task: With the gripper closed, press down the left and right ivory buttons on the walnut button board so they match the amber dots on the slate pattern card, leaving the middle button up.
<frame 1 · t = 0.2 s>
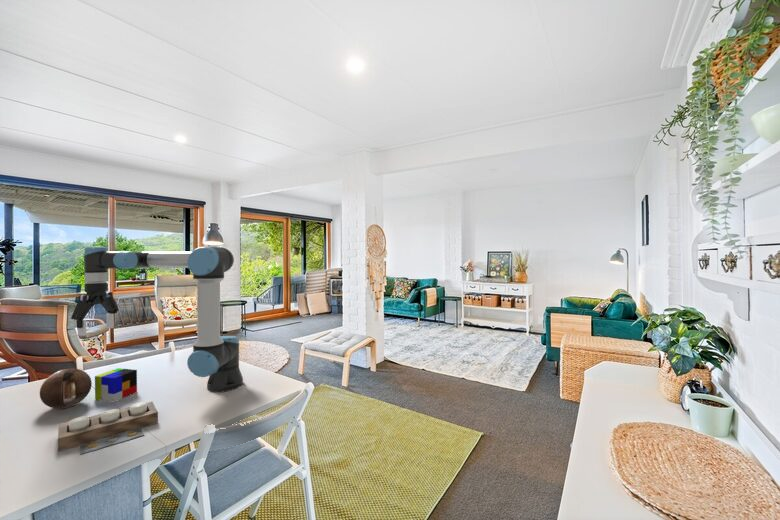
hand: (96, 331, 145), 28 cm above the table, tool pointing down, fingers open, 13 cm apart
wooden sphere: (66, 407, 135), on the table
left button: (79, 425, 113), point 4 cm above the table, slide at 0.0 cm
puzzle toy: (116, 396, 146), on the table
right button: (138, 410, 124), point 4 cm above the table, slide at 0.0 cm
middle button: (110, 417, 118), point 4 cm above the table, slide at 0.0 cm
button board: (110, 429, 118), on the table
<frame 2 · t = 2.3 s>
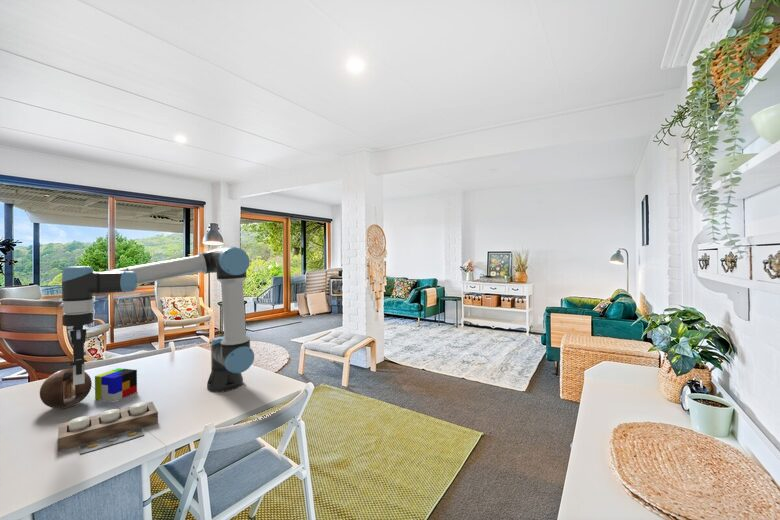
hand: (78, 379, 112), 20 cm above the table, tool pointing down, fingers open, 9 cm apart
nothing on the table moved.
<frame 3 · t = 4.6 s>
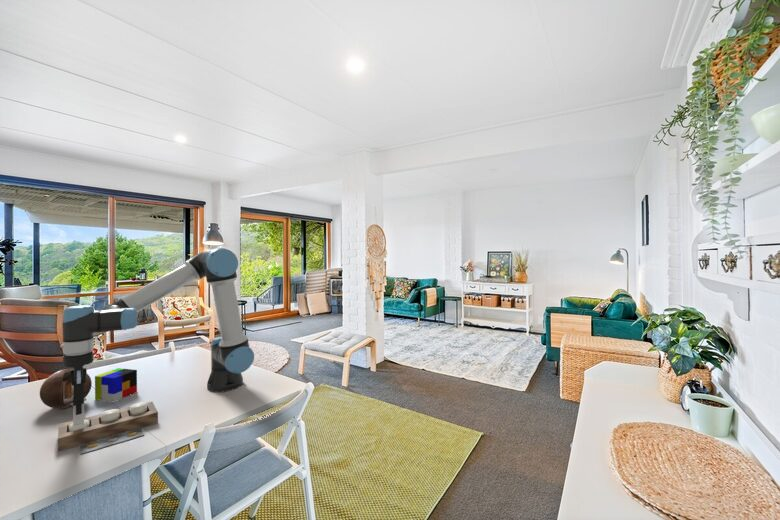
hand: (78, 422, 112), 5 cm above the table, tool pointing down, fingers closed
left button: (79, 428, 113), point 3 cm above the table, slide at 1.2 cm, touching gripper
everything else where it was.
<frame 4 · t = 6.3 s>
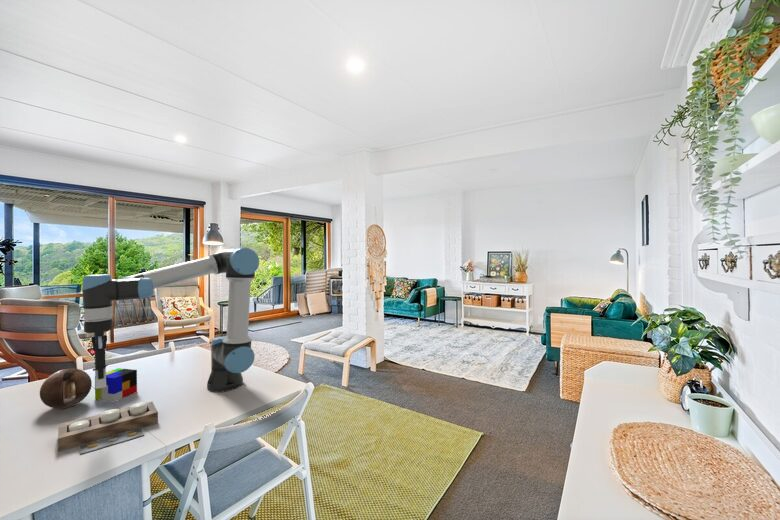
hand: (101, 387, 116), 16 cm above the table, tool pointing down, fingers closed
left button: (79, 429, 113), point 3 cm above the table, slide at 1.4 cm
everything else where it was.
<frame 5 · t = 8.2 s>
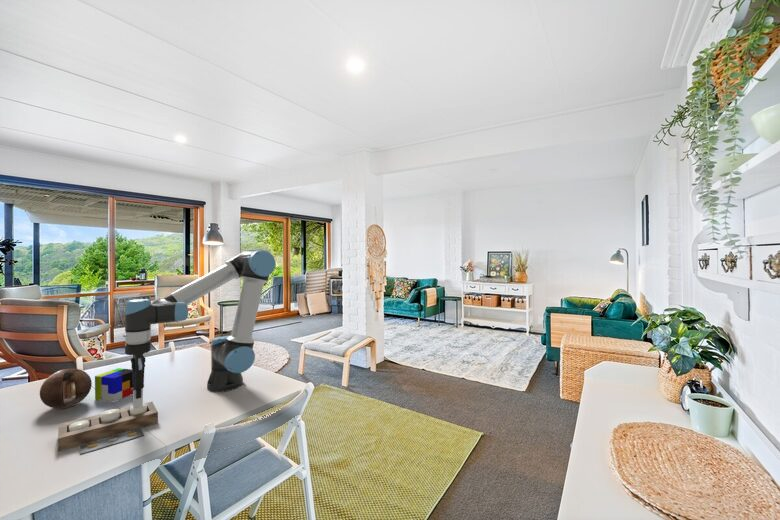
hand: (137, 405, 123), 6 cm above the table, tool pointing down, fingers closed
right button: (138, 411, 124), point 4 cm above the table, slide at 0.4 cm, touching gripper
everything else where it was.
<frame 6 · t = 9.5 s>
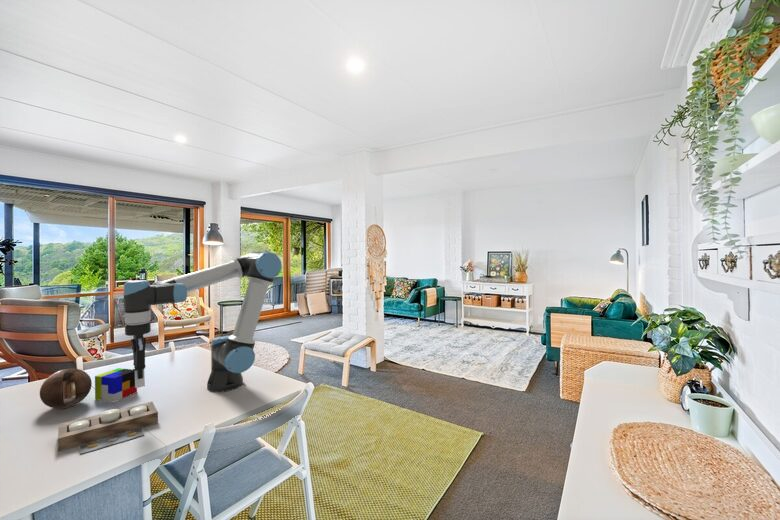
hand: (140, 386, 124), 13 cm above the table, tool pointing down, fingers closed
right button: (138, 413, 124), point 3 cm above the table, slide at 1.4 cm
everything else where it was.
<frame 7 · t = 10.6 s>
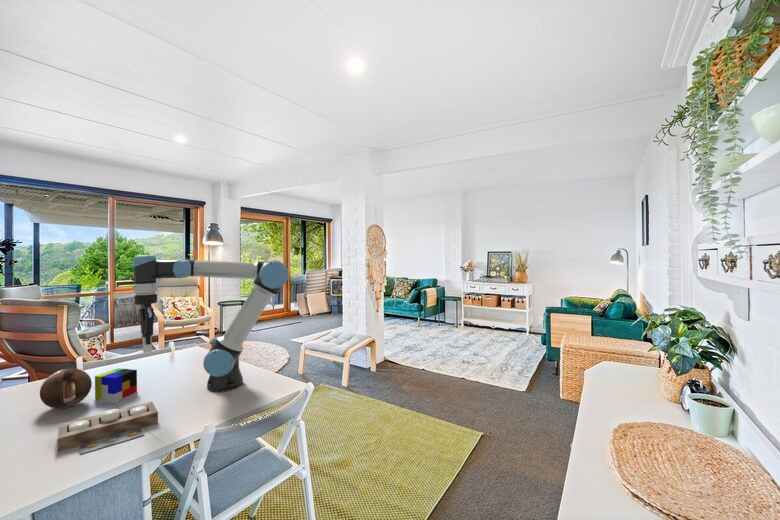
hand: (147, 351, 136), 22 cm above the table, tool pointing down, fingers closed
nothing on the table moved.
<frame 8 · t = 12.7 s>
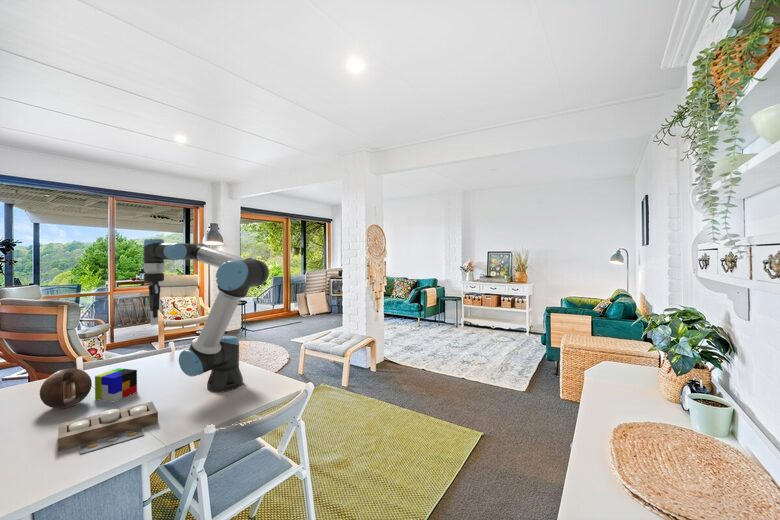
hand: (154, 324, 153), 29 cm above the table, tool pointing down, fingers closed
nothing on the table moved.
at the end: left button slide at 1.4 cm; right button slide at 1.4 cm; middle button slide at 0.0 cm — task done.
